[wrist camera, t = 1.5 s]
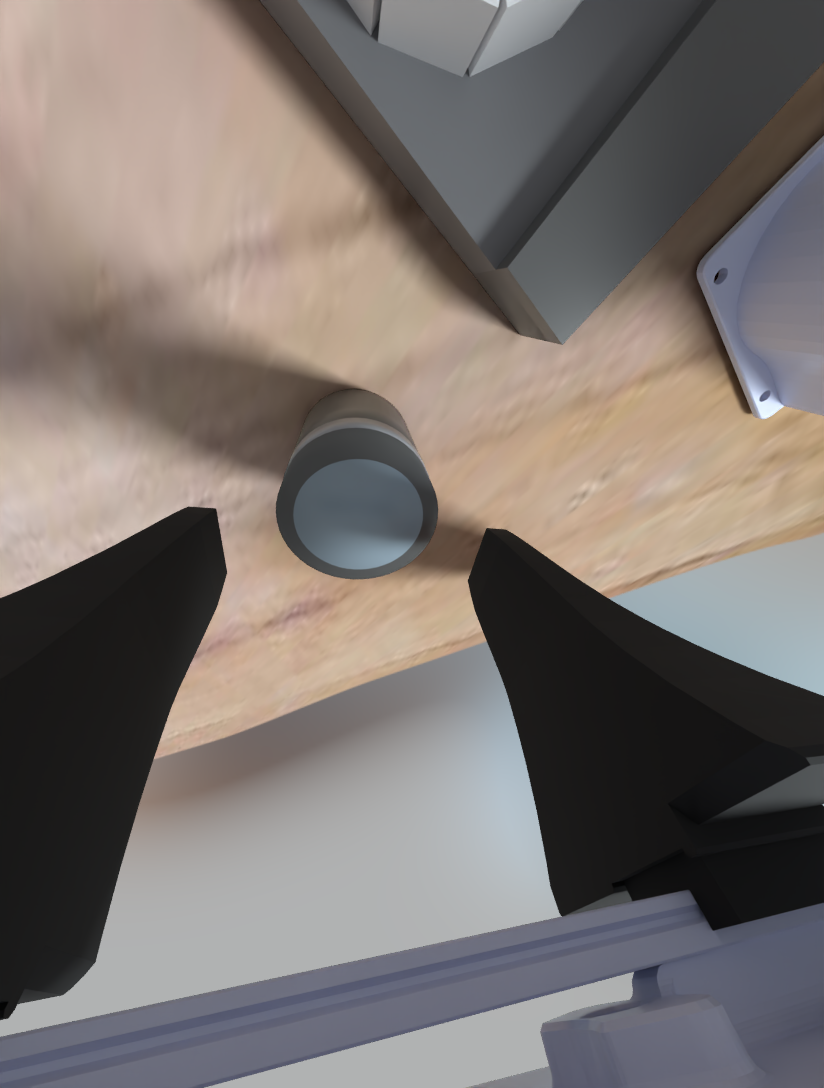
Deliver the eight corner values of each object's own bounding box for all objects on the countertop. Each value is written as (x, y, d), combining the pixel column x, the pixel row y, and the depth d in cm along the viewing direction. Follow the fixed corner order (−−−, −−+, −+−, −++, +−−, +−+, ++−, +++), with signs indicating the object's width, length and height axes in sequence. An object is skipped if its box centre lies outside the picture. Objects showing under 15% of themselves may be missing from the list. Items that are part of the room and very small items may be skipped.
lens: (431, 437, 16) (470, 505, 11) (368, 511, 18) (375, 599, 13) (342, 361, 14) (337, 401, 8) (280, 455, 16) (244, 536, 10)
